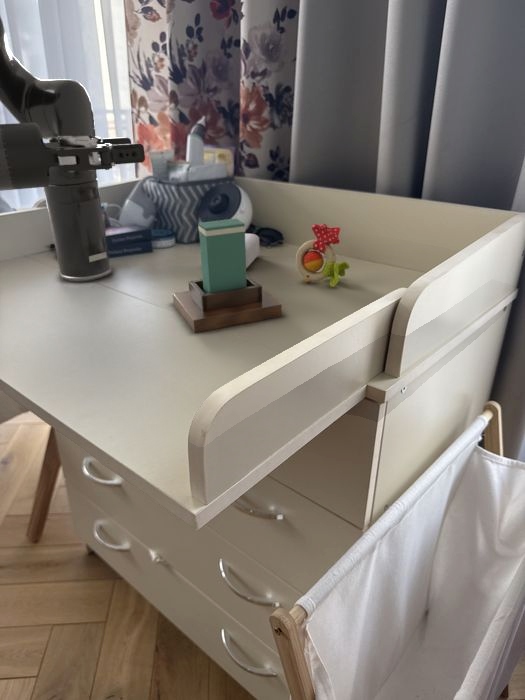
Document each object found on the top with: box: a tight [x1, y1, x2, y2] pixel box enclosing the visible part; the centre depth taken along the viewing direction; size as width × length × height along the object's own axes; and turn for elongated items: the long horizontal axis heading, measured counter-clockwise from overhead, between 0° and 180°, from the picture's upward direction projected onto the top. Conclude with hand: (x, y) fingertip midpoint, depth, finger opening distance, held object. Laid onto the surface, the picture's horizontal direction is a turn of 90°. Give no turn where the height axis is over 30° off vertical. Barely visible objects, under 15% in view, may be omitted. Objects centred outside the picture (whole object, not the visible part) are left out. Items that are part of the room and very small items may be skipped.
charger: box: [245, 233, 260, 269], centre depth 105 cm, size 5×9×15 cm
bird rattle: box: [295, 223, 350, 288], centre depth 95 cm, size 6×11×9 cm
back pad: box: [198, 218, 247, 294], centre depth 83 cm, size 6×4×12 cm, turn 113°
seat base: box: [172, 273, 282, 333], centre depth 86 cm, size 14×12×4 cm
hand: (137, 148), depth 71 cm, fingers open, 8 cm apart
